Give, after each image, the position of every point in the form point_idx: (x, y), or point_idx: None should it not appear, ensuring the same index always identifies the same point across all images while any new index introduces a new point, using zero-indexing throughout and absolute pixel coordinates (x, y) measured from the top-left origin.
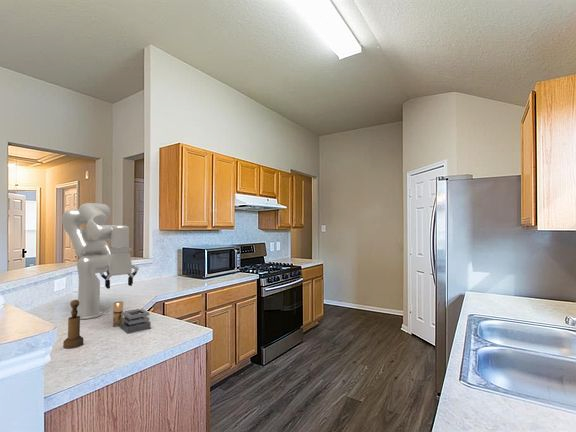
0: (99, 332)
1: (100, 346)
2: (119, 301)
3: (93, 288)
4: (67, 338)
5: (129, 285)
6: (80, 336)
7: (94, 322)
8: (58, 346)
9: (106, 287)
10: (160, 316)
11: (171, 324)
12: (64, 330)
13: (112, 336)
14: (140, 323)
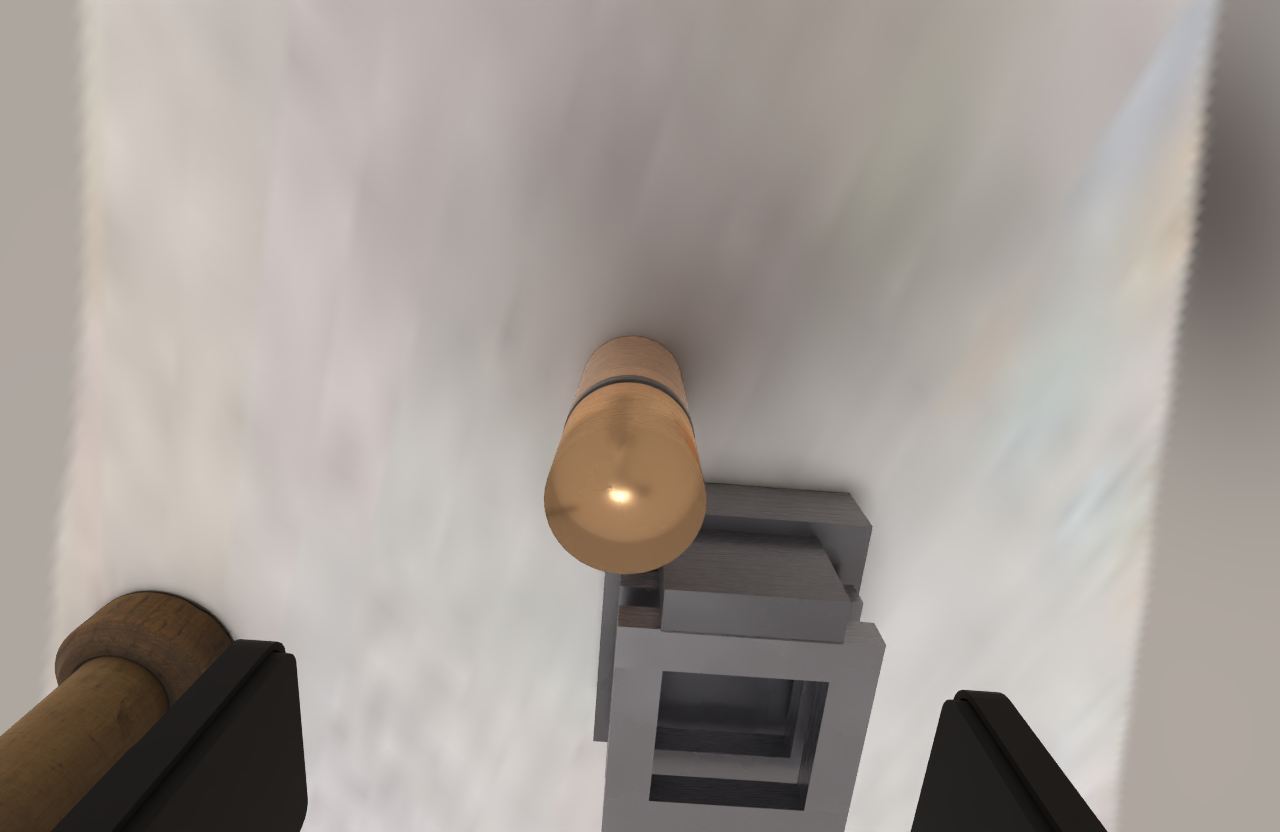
0: (414, 474)
1: (338, 802)
2: (669, 447)
3: None
4: (70, 671)
5: (919, 804)
6: (174, 700)
7: (467, 4)
8: (58, 590)
9: (238, 662)
10: (1149, 404)
11: None
12: (105, 96)
13: (475, 665)
14: (731, 729)
